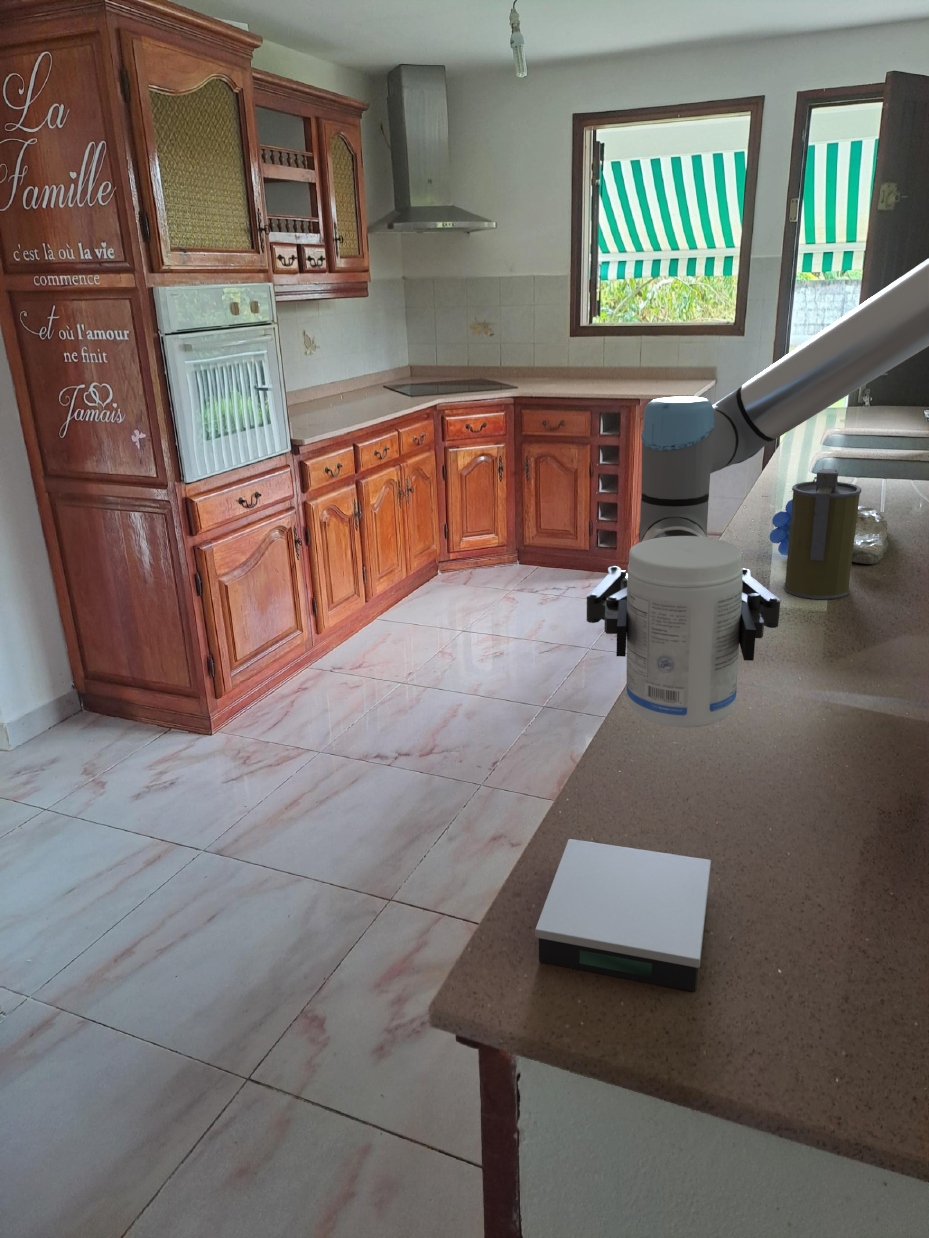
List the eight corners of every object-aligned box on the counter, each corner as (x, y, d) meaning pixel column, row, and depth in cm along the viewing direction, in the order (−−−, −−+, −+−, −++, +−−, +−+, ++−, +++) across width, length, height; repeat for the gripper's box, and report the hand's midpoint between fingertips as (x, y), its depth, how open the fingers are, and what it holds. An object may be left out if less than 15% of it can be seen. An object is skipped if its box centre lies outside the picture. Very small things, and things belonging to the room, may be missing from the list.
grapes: (832, 552, 167) (839, 490, 163) (834, 562, 161) (841, 498, 157) (768, 549, 171) (773, 488, 167) (767, 559, 165) (772, 496, 161)
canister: (787, 577, 154) (797, 464, 147) (851, 583, 150) (865, 466, 143) (779, 596, 145) (789, 476, 138) (847, 603, 141) (861, 480, 134)
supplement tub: (706, 679, 84) (714, 530, 79) (755, 723, 75) (768, 559, 70) (609, 691, 82) (611, 540, 77) (648, 738, 74) (654, 571, 68)
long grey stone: (831, 570, 161) (890, 577, 158) (835, 543, 159) (896, 549, 155) (831, 514, 190) (881, 519, 187) (835, 491, 188) (886, 495, 185)
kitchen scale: (709, 891, 76) (711, 859, 75) (697, 995, 65) (700, 959, 64) (568, 869, 80) (568, 838, 79) (535, 963, 69) (534, 929, 68)
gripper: (783, 598, 92) (823, 690, 71) (569, 594, 96) (549, 679, 75) (789, 528, 89) (833, 603, 69) (569, 527, 93) (548, 597, 73)
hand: (684, 643), depth 72 cm, fingers closed on supplement tub, 9 cm apart
